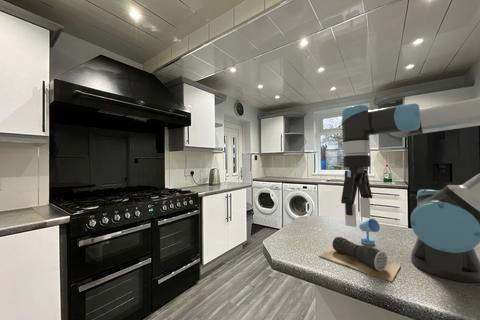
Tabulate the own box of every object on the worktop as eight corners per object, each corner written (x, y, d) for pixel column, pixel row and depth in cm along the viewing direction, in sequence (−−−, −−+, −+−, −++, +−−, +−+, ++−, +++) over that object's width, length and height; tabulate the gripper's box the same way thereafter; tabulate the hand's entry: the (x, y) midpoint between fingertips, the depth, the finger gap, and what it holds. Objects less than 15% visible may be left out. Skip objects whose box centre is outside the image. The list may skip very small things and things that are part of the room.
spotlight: (382, 246, 76) (366, 239, 83) (381, 219, 76) (366, 215, 83) (371, 247, 75) (356, 240, 82) (370, 220, 75) (356, 215, 82)
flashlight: (330, 251, 71) (330, 236, 71) (341, 249, 73) (341, 234, 73) (376, 273, 57) (375, 253, 57) (387, 268, 59) (387, 250, 59)
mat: (400, 266, 61) (400, 265, 61) (391, 282, 53) (391, 280, 53) (333, 246, 76) (333, 245, 76) (318, 256, 68) (318, 255, 68)
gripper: (356, 156, 76) (358, 212, 76) (327, 154, 59) (329, 227, 59) (380, 155, 71) (382, 216, 70) (355, 153, 54) (358, 233, 53)
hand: (358, 221), depth 64 cm, fingers open, 13 cm apart
